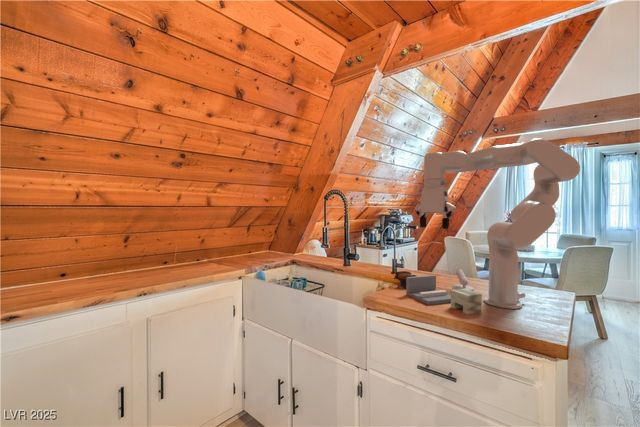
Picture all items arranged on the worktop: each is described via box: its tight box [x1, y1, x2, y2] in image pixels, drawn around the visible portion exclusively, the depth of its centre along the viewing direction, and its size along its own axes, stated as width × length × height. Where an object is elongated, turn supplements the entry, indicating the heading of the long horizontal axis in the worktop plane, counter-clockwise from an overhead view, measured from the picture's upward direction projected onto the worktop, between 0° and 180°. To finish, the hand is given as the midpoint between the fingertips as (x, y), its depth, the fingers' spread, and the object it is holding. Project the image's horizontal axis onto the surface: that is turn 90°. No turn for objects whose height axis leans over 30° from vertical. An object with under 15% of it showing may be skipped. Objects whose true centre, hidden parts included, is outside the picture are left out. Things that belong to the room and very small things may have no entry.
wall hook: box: [451, 268, 475, 292], centre depth 128 cm, size 9×10×10 cm
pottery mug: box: [393, 270, 417, 289], centre depth 137 cm, size 12×10×8 cm
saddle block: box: [450, 289, 483, 315], centre depth 106 cm, size 6×8×6 cm
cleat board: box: [405, 274, 451, 306], centre depth 119 cm, size 14×14×8 cm
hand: (433, 227), depth 115 cm, fingers open, 9 cm apart
